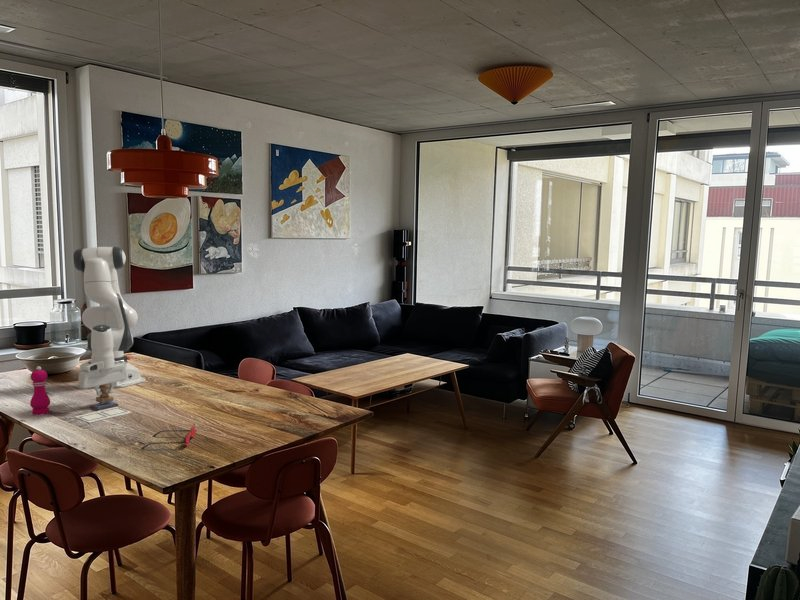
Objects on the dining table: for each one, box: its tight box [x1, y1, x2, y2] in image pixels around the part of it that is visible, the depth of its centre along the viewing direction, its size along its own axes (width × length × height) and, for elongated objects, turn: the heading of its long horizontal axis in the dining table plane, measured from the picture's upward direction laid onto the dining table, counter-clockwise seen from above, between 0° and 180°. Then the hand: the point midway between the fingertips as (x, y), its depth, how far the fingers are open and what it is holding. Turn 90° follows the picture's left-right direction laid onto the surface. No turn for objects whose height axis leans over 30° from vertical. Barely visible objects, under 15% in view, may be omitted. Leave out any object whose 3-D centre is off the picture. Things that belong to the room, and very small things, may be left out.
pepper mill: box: [29, 365, 51, 416], centre depth 251 cm, size 7×7×20 cm
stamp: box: [95, 384, 114, 403], centre depth 263 cm, size 5×5×8 cm
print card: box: [74, 406, 133, 424], centre depth 252 cm, size 18×12×1 cm, turn 144°
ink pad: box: [89, 401, 119, 411], centre depth 263 cm, size 9×7×1 cm
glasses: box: [140, 425, 198, 450], centre depth 222 cm, size 14×16×5 cm
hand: (104, 394), depth 263 cm, fingers closed on stamp, 3 cm apart
